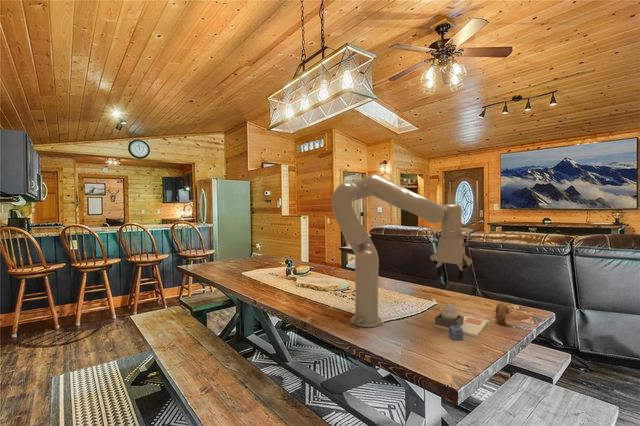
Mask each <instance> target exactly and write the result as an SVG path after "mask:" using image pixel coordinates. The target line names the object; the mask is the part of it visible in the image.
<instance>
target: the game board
mask: <svg viewBox="0 0 640 426" xmlns="http://www.w3.org/2000/svg"><path fill="white" fill-rule="evenodd" d="M488 324H489V321H488V320H486V319H482V318H481V319H480V318H478V317H476V318H475V317H473V316H467V315H463V314H457V320H456V321H453V320H448V319H444V318H442V311H440V313H438V314H437V315H436V316H435V317H434V327H435V328H438V329H441V330H445V331H449V328H450V327H451V326H454V325H455V326H460V327H461V328H462V329H463V332H464V336H469V337H472V338H478V337H479V335H480V334H481V333H482V332H483V330H484V329H485V328H486V327H487V325H488Z"/></svg>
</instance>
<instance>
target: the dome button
mask: <svg viewBox="0 0 640 426" xmlns="http://www.w3.org/2000/svg"><path fill="white" fill-rule="evenodd" d="M441 312H442V318H444V319H448V320H453V321H456V320H457V314H458V309H457V307H456V305H455V304H453V303H450V302H447V303H445V304H444V305H442V307H441Z"/></svg>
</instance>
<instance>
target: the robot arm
mask: <svg viewBox="0 0 640 426" xmlns="http://www.w3.org/2000/svg"><path fill="white" fill-rule="evenodd" d="M372 196H373V197H376V198H377V199H380V200H381V201H383V202H385V203H388V204H390V206H391V205H392V206H393V207H395V208H398V209H400V210H403V211H405V212H409V213H410V214H413V215H415V216H417V217H418V218H421V219H423V220H424V221H426V222H428V223H430V224H431V223H432V224H438V223H440V224H441V225H440V237H439V239H438V242H437V249H436V252H435V253H434V254H432V255H431V256H430V257H429V258H430V260H431V261H432V263H433V264H434V265H435V267H436V269H437V270H436V271H437V273H436V275H437V278H442V277H443V266H442V265H443V264H444V263H446V264H454V265H457V267H458V269H459V270H458V277H457V278H458V281H462V280H463V279H464V276H465V270H466V269H467V268H468V267H469V266H470V265H472V263H473V260H472V259H471V258H470V257H469V256H468V255H466V249H465V248H466V247H465V246H466V245H465V242H464V241H465V240H464V238H462V237H466V233H465V232H462V215H463V214H462V213H463V212H462V206H461V204H458V203H457V204H456V203H455V204H454V203H453V204H452V203H450V204H449V203H446V204H439V203H436V201H435V202H434V201H432V200H431V199H428V198H426V197H424V196H422V195H420V194H417V193H416V192H414V191H412V190H410V189H408V188H406V187H404V186H402V185H400V184H398V183H396V182H394V181H392V180H390V179H389V178H385V177H384V176H381V175H379V174H375V173H373V174H372V173H371V174H369V175H368V176H367V177H364V178H360V179H357V180H354V181H344V182H341V183H340V184H339V185H338V186H337V187H336V189H335V190H334V191H333V194H332V196H331V200H330V202H331V203H330V205H331V207H330V208H331V211H332V214H333V217H334V218H335V220H336V222H337V225H338V227H339V229H340V232H341V233H342V236H343V237H344V240H345V242H346V243H347V244H348V245H349V247H350V248H351V249H352V251H353V254H354V256H355V259H354V268H355V269H354V271H355V272H354V273H355V275H354V276H355V277H354V279H355V283H354V285H355V294H354V295H355V296H354V297H355V298H354V299H355V300H354V302H355V304H354V305H355V306H354V308H355V309H354V311H355V312H354V315H353V316H352V317H350V319H349V323H351V324H354V325H355V326H358V327H362V328H375V327H379V326H381V324H382V321H383V320H382V318H381V317H380V316H379V267H380V264H379V263H380V258H379V253H378V250H377V249H376V246H375V244H374V243H373V241H372V238H371V237H370V235H369V233H368V231H367V229H366V228H365V226H364V225H363V224H361V222H360V220H359V219H358V216H357V214H356V212H355V210H354V208H353V202H355V201H358V200H361V199H365V198H366V199H367V198H369V197H372ZM465 262H466V263H465ZM464 263H465V264H464Z"/></svg>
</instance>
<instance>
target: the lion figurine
mask: <svg viewBox="0 0 640 426" xmlns="http://www.w3.org/2000/svg"><path fill="white" fill-rule="evenodd" d="M495 307H496V308H495V315H494V317H493V318H494V319H496V321H495V323H496V324H500V320H499V318H501V319H502V324H503V325H507V322H506V317H507V316H508V315H510V314H511V313H512V309H510V308H509V307H508V304H507V303H501V302H499V303H497V304H496V305H495Z"/></svg>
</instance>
